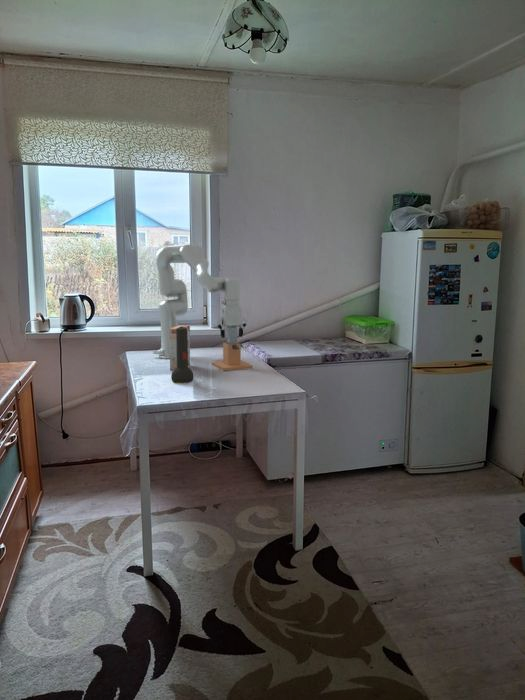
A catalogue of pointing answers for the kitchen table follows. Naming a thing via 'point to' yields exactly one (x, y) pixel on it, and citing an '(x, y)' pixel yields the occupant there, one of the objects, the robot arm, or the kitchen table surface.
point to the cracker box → (173, 346)
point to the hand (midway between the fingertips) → (231, 336)
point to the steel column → (231, 335)
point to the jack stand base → (231, 358)
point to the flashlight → (182, 358)
